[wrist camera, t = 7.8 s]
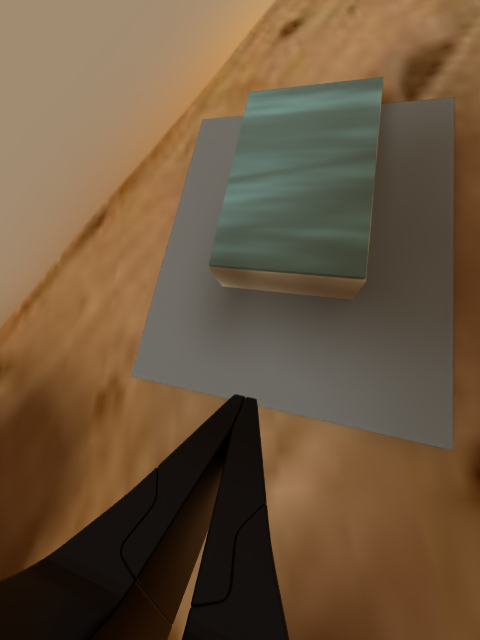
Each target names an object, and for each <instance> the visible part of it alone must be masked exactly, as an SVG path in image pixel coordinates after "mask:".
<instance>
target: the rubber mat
mask: <svg viewBox="0 0 480 640" xmlns="http://www.w3.org/2000/svg"><path fill="white" fill-rule="evenodd" d="M242 120H243V116H236V117H225V118H213V119H203V120H202V123H201V127H200V131H199V134H198V138H197V141H196V145H195V149H194V152H193V156H192V159H191V163H190V166H189V170H188V174H187V177H186V181H185V184H184V188H183V191H182V195H181V199H180V202H179V206H178V209H177V213H176V216H175V220H174V224H173V227H172V231H171V234H170V238H169V241H168V245H167V249H166V252H165V256H164V259H163V263H162V267H161V270H160V274H159V277H158V281H157V284H156V288H155V292H154V295H153V299H152V302H151V306H150V309H149V313H148V317H147V320H146V324H145V327H144V331H143V334H142V338H141V342H140V345H139V349H138V352H137V356H136V359H135V363H134V367H133V370H132V374H131V376H132V377H136V378H140V379H145V380H149V381H153V382H158V383H162V384H166V385H171V386H175V387H179V388H184V389H188V390H192V391H197V392H201V393H205V394H210V395H214V396H218V397H223V398H227V399H230V398H231V397H232V396H233V395H235V394H238V395H242V396H245V398H246V397H251V398H255V399H257V405H258V406H262V407H266V408H270V409H275V410H279V411H283V412H288V413H292V414H297V415H301V416H305V417H310V418H314V419H318V420H323V421H327V422H331V423H336V424H340V425H344V426H349V427H353V428H357V429H362V430H366V431H370V432H375V433H379V434H383V435H388V436H392V437H396V438H401V439H405V440H409V441H414V442H418V443H422V444H427V445H431V446H435V447H440V448H444V449H448V450H453V332H454V97H453V98H442V99H431V100H419V101H408V102H396V103H385V104H381V112H380V124H379V135H378V147H377V159H376V171H375V182H374V194H373V206H372V217H371V229H370V241H369V252H368V264H367V276H366V282H365V284H364V285H363V286H362V288H361V289H360V290H359V292H358V293H357V295H356V296H355V297H354V299H353V300H349V299H340V298H330V297H320V296H311V295H301V294H292V293H282V292H272V291H263V290H253V289H244V288H234V287H224V286H222V285H221V284H220V283H219V281H218V280H217V279H216V278H215V276H214V275H213V274H212V272H211V271H210V270H209V268H208V267H209V260H210V256H211V252H212V248H213V243H214V239H215V235H216V231H217V227H218V222H219V218H220V214H221V210H222V205H223V201H224V197H225V193H226V188H227V184H228V180H229V176H230V171H231V167H232V163H233V159H234V154H235V150H236V146H237V142H238V137H239V133H240V129H241V125H242Z"/></svg>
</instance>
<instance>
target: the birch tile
mask: <svg viewBox="0 0 480 640" xmlns="http://www.w3.org/2000/svg"><path fill="white" fill-rule="evenodd" d="M382 89H383V77H379V78H370V79H361V80H352V81H343V82H334V83H325V84H317V85H308V86H299V87H290V88H281V89H272V90H263V91H255V92H249V95H248V99H247V104H246V108H245V112H244V116H243V120H242V125H241V129H240V133H239V137H238V142H237V146H236V150H235V154H234V159H233V163H232V167H231V171H230V176H229V180H228V184H227V188H226V193H225V197H224V201H223V205H222V210H221V214H220V218H219V222H218V227H217V231H216V235H215V239H214V243H213V248H212V252H211V256H210V260H209V267H208V268H209V270H210V271H211V272H212V274H213V275H214V276H215V278H216V279H217V280H218V281H219V283H220V284H221V285H222V286H224V287H234V288H244V289H253V290H263V291H272V292H282V293H292V294H301V295H311V296H320V297H330V298H340V299H349V300H353V299H354V297H355V296H356V295H357V293H358V292H359V290H360V289H361V288H362V286H363V285H364V284H365V282H366V276H367V264H368V252H369V241H370V229H371V217H372V206H373V194H374V182H375V171H376V159H377V147H378V135H379V124H380V112H381V100H382Z"/></svg>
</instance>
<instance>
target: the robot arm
mask: <svg viewBox="0 0 480 640" xmlns="http://www.w3.org/2000/svg"><path fill="white" fill-rule="evenodd" d="M266 502H267V501H266V491H265V480H264V469H263V458H262V448H261V437H260V426H259V416H258V405H257V399H255V398H251V397H246V398H245V396H242V395H238V394H235V395H233V396H232V397H231V398H230V399H229V400H228V401H227V402H225V403H224V404H223V405H222V406H221V407H220V408H219V409H218V410H217V411H216V412H215V413H214V414H213V415H212V416H211V417H210V418H208V419H207V420H206V421H205V422H204V423H203V424H202V425H201V426H200V427H199V428H198V429H197V430H196V431H195V432H194V433H193V434H191V435H190V436H189V437H188V438H187V439H186V440H185V441H184V442H183V443H182V444H181V445H180V446H179V447H178V448H177V449H175V450H174V451H173V452H172V453H171V454H170V455H169V456H168V457H167V458H166V459H165V460H164V461H163V462H162V463H161V464H160V465H159V466H158V468H155V469H154V470H153V471H152V472H151V473H150V474H149V475H148V476H147V477H146V478H144V479H143V480H142V481H141V482H140V483H139V484H138V485H137V486H136V487H134V488H133V489H132V490H131V491H130V492H129V493H128V494H126V495H125V496H124V497H123V498H121V499H120V500H119V501H118V502H117V503H115V504H114V505H113V506H112V507H110V508H109V509H108V510H107V511H105V512H104V513H103V514H102V515H100V516H99V517H98V518H96V519H95V520H94V521H93V522H91V523H90V524H89V525H88V526H86V527H85V528H84V529H83V530H81V531H80V532H79V533H77V534H76V535H75V536H74V537H72V538H71V539H70V540H69V541H67V542H66V543H65V544H63V545H62V546H61V547H60V548H58V549H57V550H56V551H54V552H53V553H51V554H50V555H48V556H47V557H45V558H44V559H42V560H41V561H39V562H37V563H36V564H34V565H32V566H30V567H28V568H27V569H25V570H22V571H20V572H18V573H16V574H14V575H12V576H10V577H8V578H6V579H3V580H1V581H0V640H167V639H168V636H169V633H170V631H171V628H172V624H173V622H174V620H175V617H176V614H177V612H178V609H179V606H180V604H181V601H182V598H183V596H184V593H185V590H186V588H187V585H188V582H189V580H190V577H191V574H192V572H193V569H194V566H195V564H196V561H197V558H198V556H199V553H200V550H201V548H202V545H203V542H204V539H205V537H206V534H207V531H208V534H207V538H206V543H205V547H204V551H203V555H202V560H201V564H200V568H199V572H198V576H197V581H196V585H195V589H194V593H193V597H192V602H191V608H190V610H189V614H188V618H187V622H186V626H185V630H184V634H183V637H182V640H289V636H288V631H287V626H286V621H285V615H284V610H283V605H282V600H281V595H280V590H279V585H278V580H277V575H276V569H275V563H274V558H273V552H272V546H271V538H270V530H269V521H268V510H267V505H266ZM208 529H209V530H208Z"/></svg>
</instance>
